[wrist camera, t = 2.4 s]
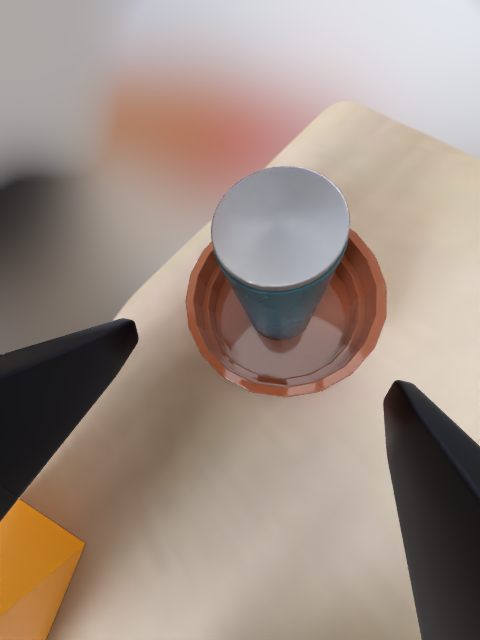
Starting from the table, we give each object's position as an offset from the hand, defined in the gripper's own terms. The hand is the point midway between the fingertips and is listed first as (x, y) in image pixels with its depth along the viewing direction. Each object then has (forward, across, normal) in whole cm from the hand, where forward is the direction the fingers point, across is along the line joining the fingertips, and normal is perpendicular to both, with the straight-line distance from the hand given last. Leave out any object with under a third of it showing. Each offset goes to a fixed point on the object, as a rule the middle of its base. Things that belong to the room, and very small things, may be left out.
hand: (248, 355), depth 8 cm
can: (+11, 0, +4) cm, 12 cm away
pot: (+12, 0, +5) cm, 13 cm away
